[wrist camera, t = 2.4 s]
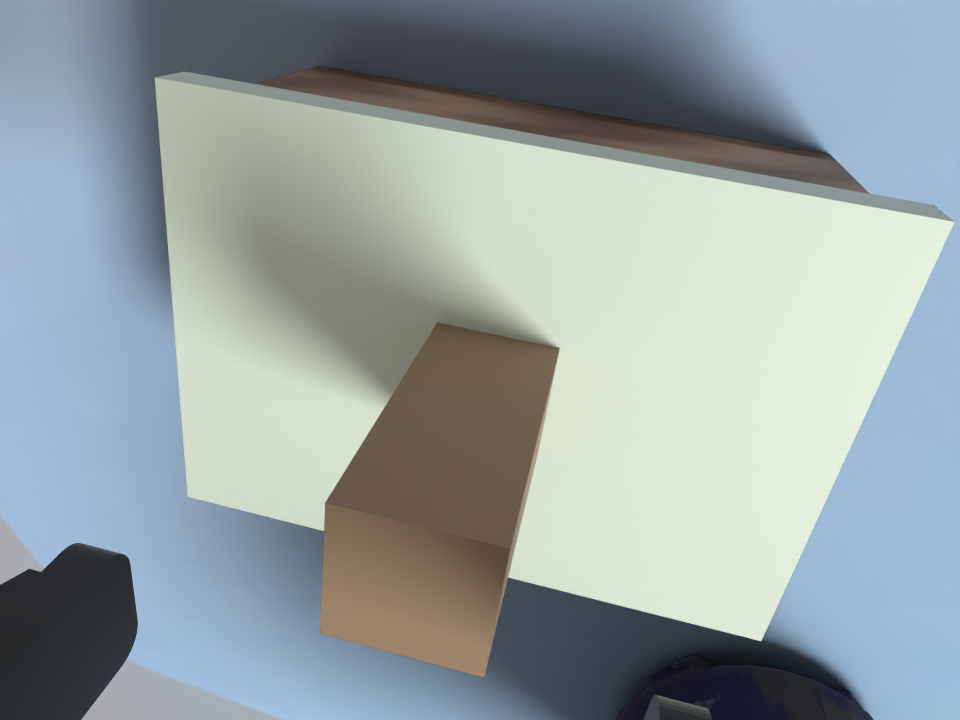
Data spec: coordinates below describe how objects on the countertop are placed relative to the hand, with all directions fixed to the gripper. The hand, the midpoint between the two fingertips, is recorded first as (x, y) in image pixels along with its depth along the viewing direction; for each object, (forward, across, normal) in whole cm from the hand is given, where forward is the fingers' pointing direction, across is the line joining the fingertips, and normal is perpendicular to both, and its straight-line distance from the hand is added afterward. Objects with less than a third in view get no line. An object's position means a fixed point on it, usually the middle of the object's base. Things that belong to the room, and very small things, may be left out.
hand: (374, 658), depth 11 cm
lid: (+10, 0, 0) cm, 10 cm away
